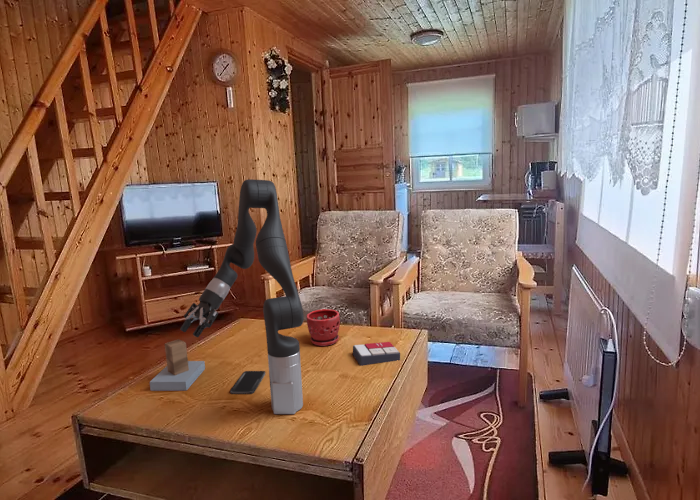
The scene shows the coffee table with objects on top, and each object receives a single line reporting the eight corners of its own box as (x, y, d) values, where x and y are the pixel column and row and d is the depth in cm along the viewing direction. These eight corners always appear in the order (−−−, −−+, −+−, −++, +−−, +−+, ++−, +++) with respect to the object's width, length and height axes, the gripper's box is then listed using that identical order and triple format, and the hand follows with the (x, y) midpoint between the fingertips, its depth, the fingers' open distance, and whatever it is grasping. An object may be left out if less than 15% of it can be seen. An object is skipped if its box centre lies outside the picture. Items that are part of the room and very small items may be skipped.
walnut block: (188, 370, 154) (185, 342, 153) (174, 375, 151) (171, 347, 149) (181, 366, 158) (178, 339, 156) (167, 371, 154) (164, 343, 152)
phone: (228, 391, 143) (244, 370, 158) (229, 395, 143) (244, 373, 158) (253, 392, 142) (266, 370, 157) (253, 395, 142) (266, 373, 157)
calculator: (400, 351, 163) (360, 354, 159) (400, 362, 163) (360, 366, 160) (390, 340, 173) (352, 343, 170) (390, 351, 174) (352, 354, 170)
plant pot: (310, 336, 190) (308, 309, 188) (341, 336, 189) (340, 308, 187) (305, 348, 177) (304, 319, 175) (339, 348, 176) (338, 318, 174)
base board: (186, 390, 146) (185, 381, 146) (150, 390, 147) (149, 382, 147) (205, 368, 162) (204, 360, 162) (172, 369, 163) (171, 361, 162)
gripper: (196, 285, 164) (170, 324, 158) (219, 291, 155) (191, 332, 149) (211, 296, 169) (185, 334, 163) (233, 302, 160) (207, 343, 154)
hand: (188, 333), depth 156 cm, fingers open, 8 cm apart
